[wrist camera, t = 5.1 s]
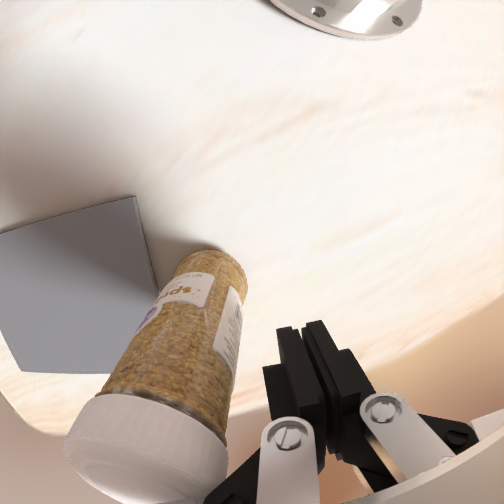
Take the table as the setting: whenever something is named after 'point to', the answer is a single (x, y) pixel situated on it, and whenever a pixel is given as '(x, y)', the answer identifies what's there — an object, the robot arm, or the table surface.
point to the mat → (75, 288)
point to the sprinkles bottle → (168, 392)
